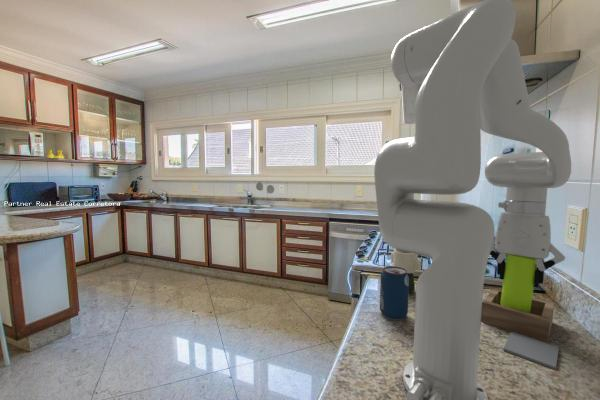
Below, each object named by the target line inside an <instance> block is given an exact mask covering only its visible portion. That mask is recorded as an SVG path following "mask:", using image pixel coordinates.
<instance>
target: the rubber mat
mask: <svg viewBox="0 0 600 400" xmlns="http://www.w3.org/2000/svg"><path fill="white" fill-rule="evenodd" d="M559 349H560V347H559V346H558V345H554V344H551V343H549V342H548V343H546V342H543V341H540V340H537V339H534V338H531V337H528V336H525V335H521V334H518V333H515V332H512V331H510V333H509V336H508V337H507V340H506V342H505V344H504V345H503V349H502V350H503V351H504V352H507V353H509V354H511V355H515V356H518V357H521V358H523V359H525V360H529V361H531V362H533V363H536V364H538V365H541V366H545V367H547V368H549V369H553V370H556V369H557V362H558V358H559Z"/></svg>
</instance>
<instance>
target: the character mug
mask: <svg viewBox="0 0 600 400" xmlns="http://www.w3.org/2000/svg"><path fill="white" fill-rule="evenodd" d="M418 256H419V254H415V253H411V252H406V251H402V250H399V249H395V248H393V252H391V253H390V261H391V262H392V263H393V264H392V266H394V267H400V268H403V269H405V270H406V271H407V275H408V277H409V293H412V292H416V287H415V277H414V276H415V275H414V273H416V272H418V271H419V272H421V269H422V261H421V260H420V259H419V257H418Z"/></svg>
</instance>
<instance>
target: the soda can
mask: <svg viewBox="0 0 600 400" xmlns="http://www.w3.org/2000/svg"><path fill="white" fill-rule="evenodd" d="M379 284H380V285H379V286H380V290H379V291H380V292H379V311H380V312H381V314H382V316H383V317H384V318H386V319H388V320H391V321H403V320H404V319H405V318H406V316H407V315H408V313H409V295H410V294H409V293H410V292H409V277H408V275H407V271H406V270H405V269H403V268H400V267H394V266H393V265H389V266H385V267H383V270H382V272H381V273H380V283H379Z"/></svg>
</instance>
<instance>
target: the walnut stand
mask: <svg viewBox="0 0 600 400" xmlns="http://www.w3.org/2000/svg"><path fill="white" fill-rule="evenodd" d="M501 294H502V289H498V288H492V289H491V291H490V292H489V293H488V294H487V295H486V297H485V298H484V299H482V313H481V323H485V324H488V325H491V326H493V327H496V328H500V329H503V330H507V331H509V332H514V333H518V334H521V335H524V336H527V337H530V338H533V339H536V340H539V341H542V342H545V343H548V344H549V340H550V336H551V331H552V327H553V323H554V322H553V320H554V309H555V303H554V302H551V301H547V300H543V299H540V298H535V297H532V303H531V310H530V313H529V312H525V311H521V310H518V309H514V308H510V307H507V306H503V305H501V304H500V301H501Z"/></svg>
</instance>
